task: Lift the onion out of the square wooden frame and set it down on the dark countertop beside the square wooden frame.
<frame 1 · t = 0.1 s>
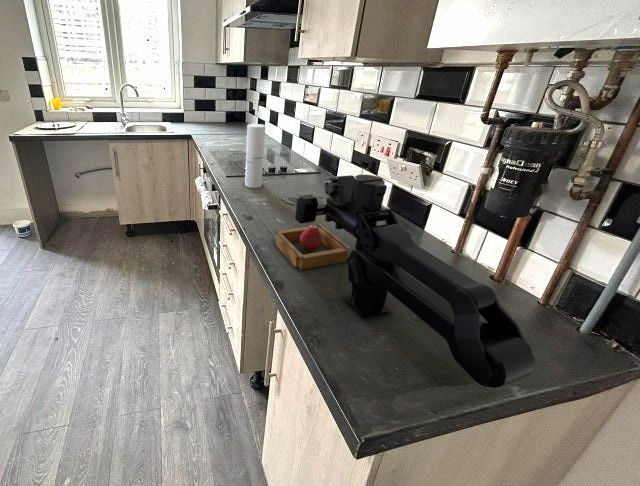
hand: (314, 194, 84), 17 cm above the countertop, tool horizontal, fingers open, 9 cm apart
square wooden frame: (309, 251, 90), on the countertop
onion: (308, 251, 90), resting in square wooden frame
cylindrical container: (253, 185, 138), on the countertop
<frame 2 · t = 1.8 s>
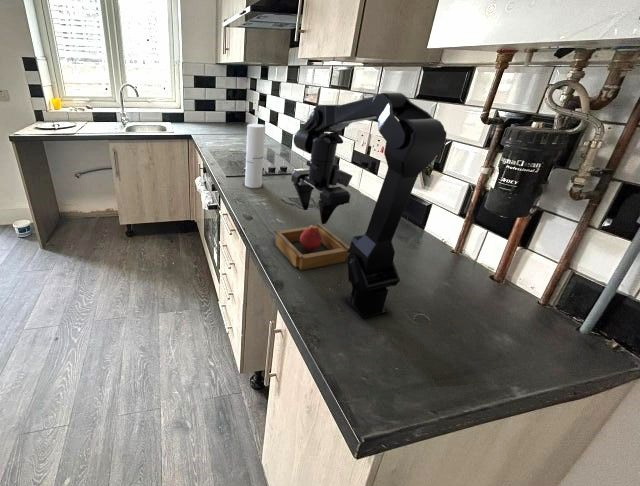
hand: (314, 216, 85), 11 cm above the countertop, tool pointing down, fingers open, 9 cm apart
nothing on the countertop moved.
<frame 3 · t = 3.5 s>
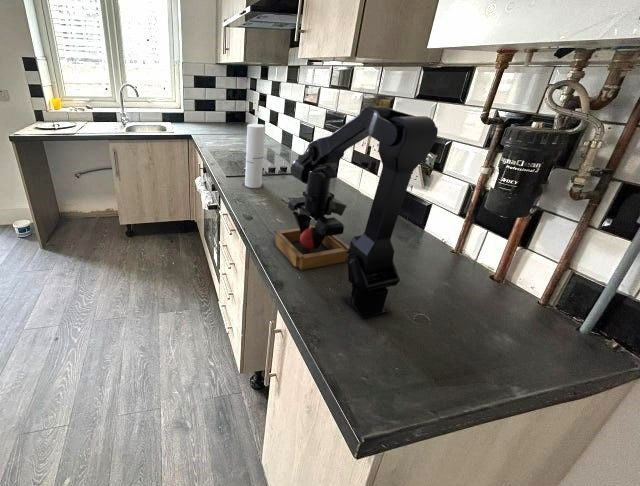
hand: (310, 242, 89), 3 cm above the countertop, tool pointing down, fingers closed on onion, 6 cm apart
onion: (308, 251, 90), resting in square wooden frame, touching gripper
everything else where it was.
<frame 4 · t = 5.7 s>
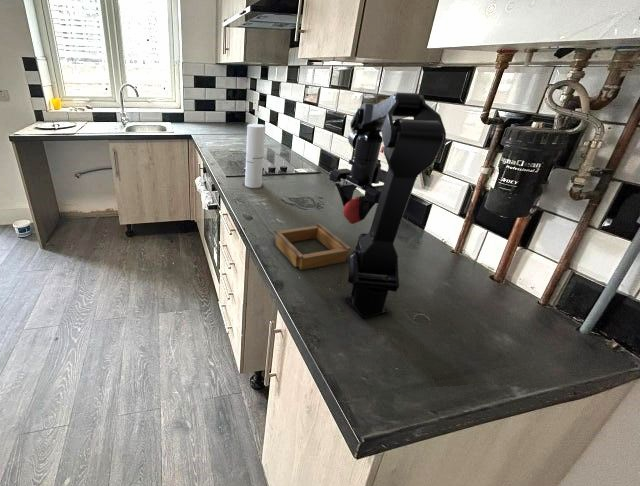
hand: (354, 214, 86), 11 cm above the countertop, tool pointing down, fingers closed on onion, 6 cm apart
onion: (352, 224, 87), point 8 cm above the countertop, touching gripper
everything else where it was.
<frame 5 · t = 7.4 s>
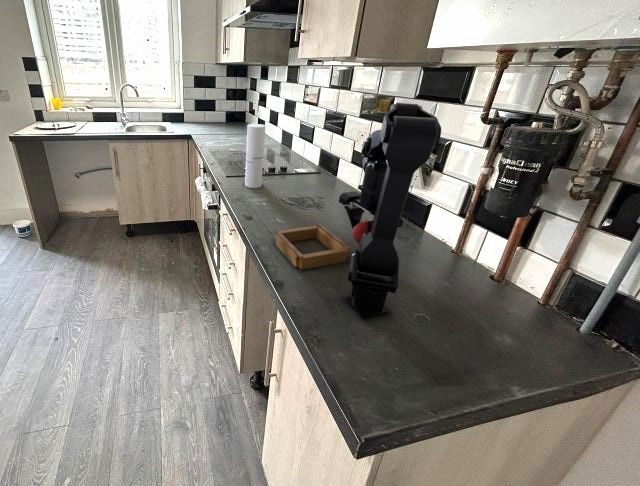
hand: (362, 236, 89), 5 cm above the countertop, tool pointing down, fingers closed on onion, 6 cm apart
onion: (360, 245, 90), point 2 cm above the countertop, touching gripper
everything else where it was.
when the fingers open (3 cm above the countertop, at t = 8.4 s): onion stays where it is, on the countertop.
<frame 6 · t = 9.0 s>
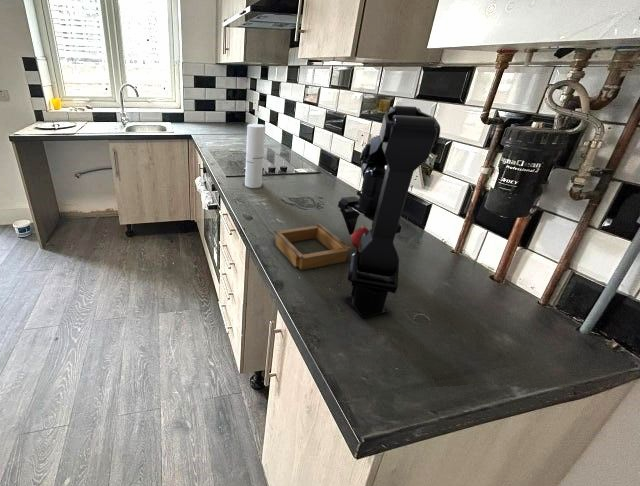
hand: (361, 241, 90), 3 cm above the countertop, tool pointing down, fingers open, 9 cm apart
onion: (359, 251, 91), on the countertop
everything else where it was.
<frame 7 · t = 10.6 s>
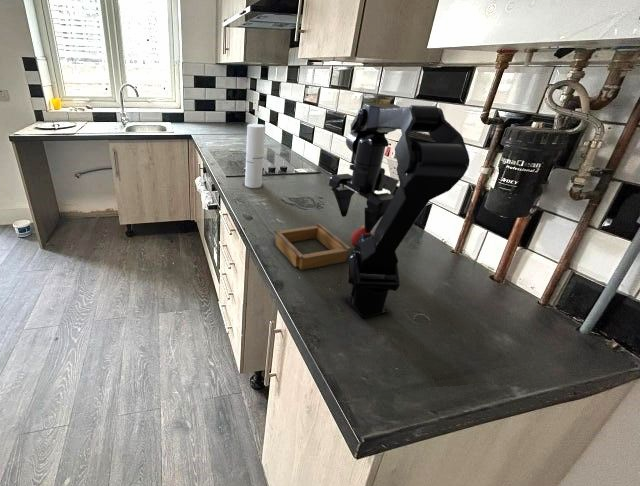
hand: (355, 224, 79), 12 cm above the countertop, tool pointing down, fingers open, 9 cm apart
nothing on the countertop moved.
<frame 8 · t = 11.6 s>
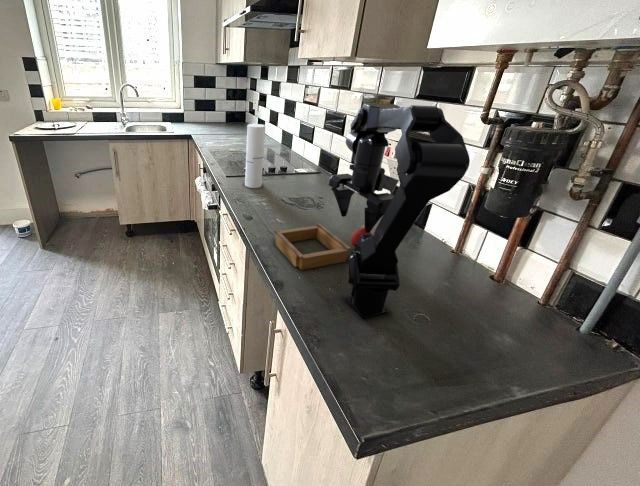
hand: (355, 224, 79), 12 cm above the countertop, tool pointing down, fingers open, 9 cm apart
nothing on the countertop moved.
at the end: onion inside the target area (0.7 cm from its centre), on the countertop; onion touching countertop; the gripper is holding nothing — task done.
